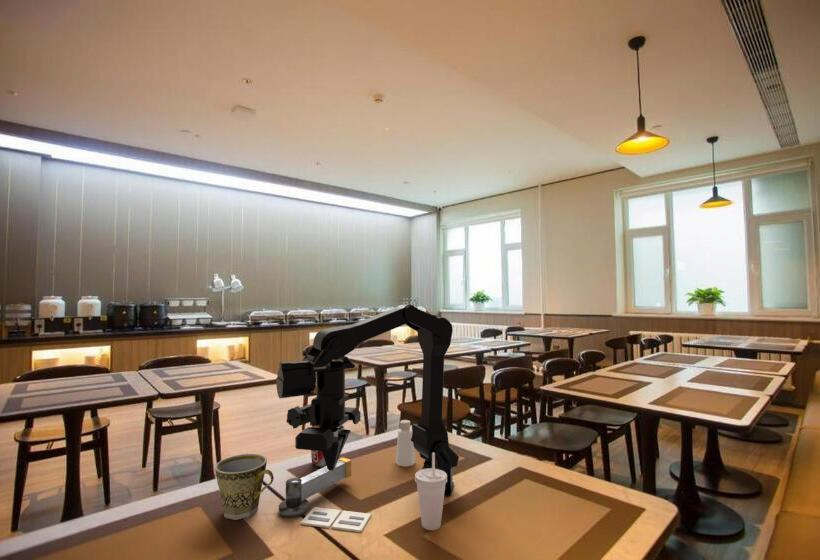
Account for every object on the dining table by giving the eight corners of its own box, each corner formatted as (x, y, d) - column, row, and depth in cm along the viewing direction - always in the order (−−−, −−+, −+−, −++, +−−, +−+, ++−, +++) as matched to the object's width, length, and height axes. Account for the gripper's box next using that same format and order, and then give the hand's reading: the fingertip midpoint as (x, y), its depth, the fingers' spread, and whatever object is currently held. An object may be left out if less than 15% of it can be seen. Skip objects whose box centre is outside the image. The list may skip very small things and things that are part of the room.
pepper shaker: (415, 466, 108) (415, 424, 109) (394, 466, 109) (394, 424, 109) (415, 458, 114) (415, 418, 114) (395, 458, 114) (395, 418, 114)
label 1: (341, 512, 86) (341, 509, 86) (329, 528, 80) (329, 525, 80) (314, 508, 87) (314, 506, 87) (300, 524, 82) (300, 521, 82)
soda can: (335, 468, 107) (335, 421, 108) (307, 468, 108) (308, 421, 108) (340, 457, 115) (340, 414, 115) (314, 457, 115) (315, 413, 115)
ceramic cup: (203, 519, 83) (203, 468, 84) (239, 496, 93) (239, 451, 93) (255, 531, 79) (256, 478, 79) (287, 506, 88) (288, 459, 89)
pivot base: (313, 504, 89) (313, 499, 89) (299, 519, 83) (299, 513, 83) (287, 501, 90) (287, 496, 90) (272, 516, 85) (272, 510, 85)
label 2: (371, 515, 85) (371, 513, 85) (361, 532, 79) (361, 529, 79) (343, 512, 86) (343, 510, 86) (331, 528, 80) (331, 525, 80)
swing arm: (292, 508, 85) (292, 486, 85) (282, 504, 86) (282, 482, 87) (351, 476, 99) (351, 457, 100) (341, 473, 101) (341, 454, 101)
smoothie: (437, 538, 77) (437, 461, 77) (408, 527, 80) (408, 454, 81) (453, 521, 82) (452, 450, 83) (425, 512, 86) (424, 444, 86)
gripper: (315, 380, 95) (315, 449, 95) (269, 401, 77) (269, 486, 77) (361, 382, 93) (361, 453, 92) (324, 404, 74) (325, 493, 74)
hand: (331, 469), depth 84 cm, fingers closed
